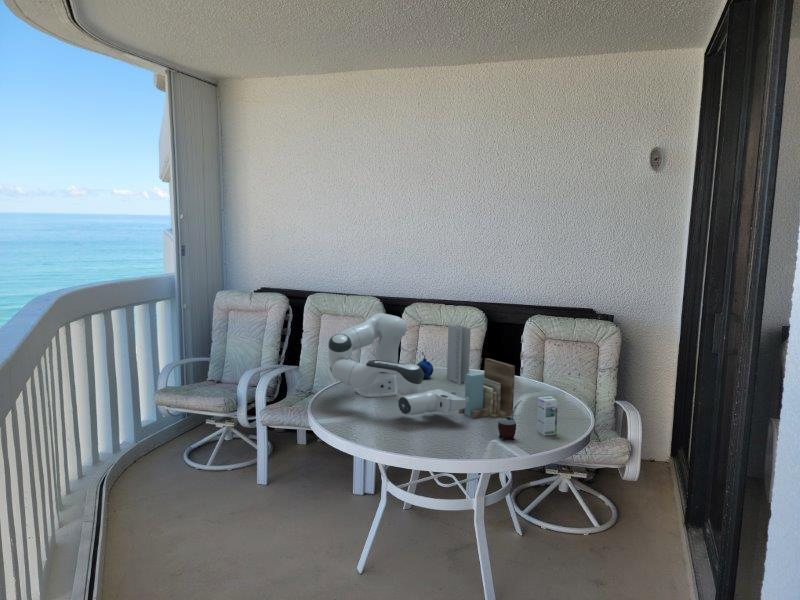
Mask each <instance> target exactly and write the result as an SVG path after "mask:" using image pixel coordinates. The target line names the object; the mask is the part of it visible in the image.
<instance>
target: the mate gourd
mask: <svg viewBox="0 0 800 600" xmlns="http://www.w3.org/2000/svg"><path fill="white" fill-rule="evenodd" d="M521 402H522V399H521V400H519V401H518V402H517V403H516V404H515V405H514V406H513V413H512V415H510V416H503V417H499V420H498V422H497V423H498V424H497V429H498V434H499V435H498V438H502V441H506V440H508V441H509V440H510V441H515V435H516V430H517V422H516V419H515V418H514V415H515V413H516V409H517V407H518V406H519V404H520V403H521Z"/></svg>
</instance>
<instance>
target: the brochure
mask: <svg viewBox="0 0 800 600" xmlns="http://www.w3.org/2000/svg"><path fill="white" fill-rule="evenodd" d="M447 326H448V327H447V328H448V329H447V333H448V334H447V360H446V361H447V363H446V365H447V366H446V367H447V368H446V380H449V379H450V380H449V381H451V380H452V381H451V382H453V381H454V382H453V383H455V382H456V383H455V384H457V383H458V384H457V385H459V384H460V385H461V383H463V382H465V381H466V374H470V362H471V361H470V360H471V333H472V332H471V330H472V329H471V328H470V327H467V326H463V325H459V324H456V325H451V324H450V325H447Z"/></svg>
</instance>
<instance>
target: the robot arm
mask: <svg viewBox="0 0 800 600" xmlns="http://www.w3.org/2000/svg"><path fill="white" fill-rule="evenodd" d="M407 331H408V325H407V322H406V321H405V320H404V319H402V318H401V317H400V316H397V315H393V314H390V313H389V314H388V313H383V312H378V313H374V314H372V315H371V316H370V317H369V318H368V319H367V320H365V321H364V322H362V323H358V324H357V325H354V326H351V327H348V328H346V329H344V330H342V331H340V332H338V333H337V334H334V335H333V336H331V337H330V338H329V340H328V345H327V346H328V360H329V369H330V372H331V375H332V377H333V378H334V379H335V380H337V381H339V382H340V383H343V384H344V385H346V386H349V387H351V388H354V389H355V393H356V392H357V393H358V394H357V393H356V394H357V395H359V394H360V395H359V396H361V395H362V396H361V397H365V398H378V397H391V396H396V401H397V404H398V408H399V411H400V412H401V413H402V414H403V415H410V416H414V415H415V416H416V415H422V414H425V413H433V412H435V413H436V412H437V413H438V412H439V413H445V414H449V413H451V412H452V411H453V412H454V411H459V410H460V409H464V408H465V407H466V402H469V398H468V397H465V396H464V397H461V396H458V395H457V393H456V392H455V391H445V390H443V389H441V388H435V389H431V390H426V391H424V392H421V388H422V384H423V380H424V378H423V377H424V372H423V371H422V369H421V368H420V367H419V366H418V365H417V364H413V363H401V362H398V361H399V348H400V344H401V340H402V338H403V337H404V336H405V335H406V333H407ZM380 337H381V338H380ZM378 338H380V342H379V344H378V345H377V346H376V349H375V359H371V360H368V361H367V362H366V363H361V362H358V361H355V360H354V354H353V352H354V351H356V350H359V349H361V348H364V347H367V346H370V345H372V344H373V343H374V341H375V340H376V339H378Z"/></svg>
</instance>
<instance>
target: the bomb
mask: <svg viewBox="0 0 800 600" xmlns="http://www.w3.org/2000/svg"><path fill="white" fill-rule="evenodd" d="M421 354H422V356H423V358H422V360H421V361H419V362H417V364H416V365H418V366H419V367H420V368H421V369H422V371H423V372H424V377H423V379H428V378H430V377H431V376H432V375H433V373H434V367H433V364H432V363H431V362H430V361H428V360H427V358H426V355H425V354H424V351H422V352H421Z"/></svg>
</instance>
